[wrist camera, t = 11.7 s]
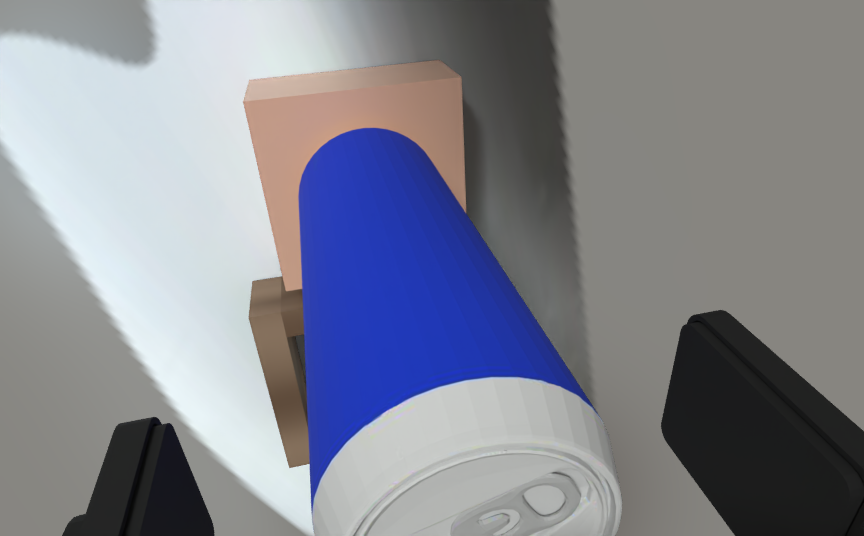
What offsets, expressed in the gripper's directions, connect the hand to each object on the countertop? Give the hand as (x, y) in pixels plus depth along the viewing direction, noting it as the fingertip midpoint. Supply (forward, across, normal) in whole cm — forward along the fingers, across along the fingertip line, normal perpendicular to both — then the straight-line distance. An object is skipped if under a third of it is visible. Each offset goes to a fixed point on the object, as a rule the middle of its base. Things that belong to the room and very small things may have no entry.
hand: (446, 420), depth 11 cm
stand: (+16, 0, +1) cm, 16 cm away
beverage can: (+13, 0, +1) cm, 13 cm away
